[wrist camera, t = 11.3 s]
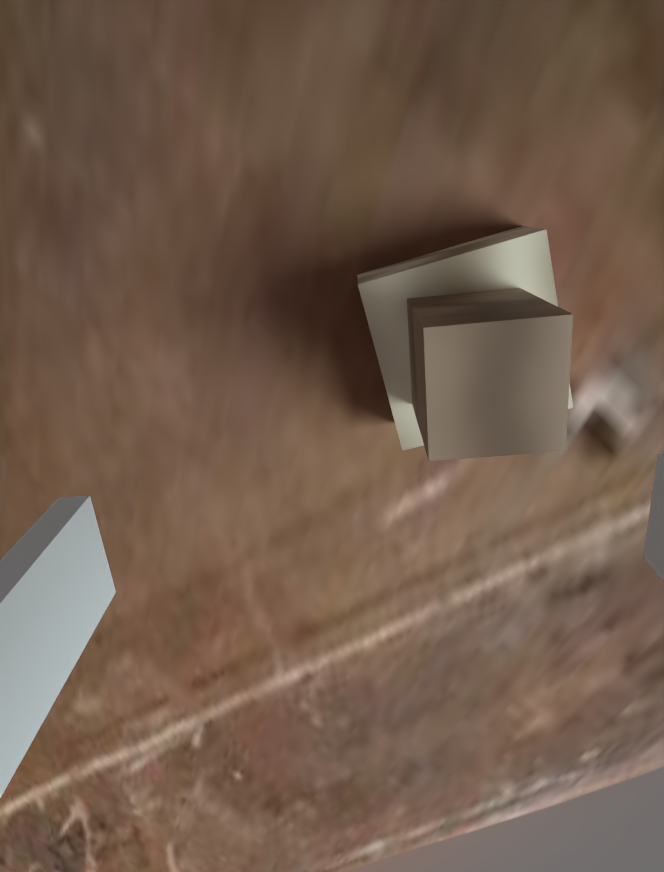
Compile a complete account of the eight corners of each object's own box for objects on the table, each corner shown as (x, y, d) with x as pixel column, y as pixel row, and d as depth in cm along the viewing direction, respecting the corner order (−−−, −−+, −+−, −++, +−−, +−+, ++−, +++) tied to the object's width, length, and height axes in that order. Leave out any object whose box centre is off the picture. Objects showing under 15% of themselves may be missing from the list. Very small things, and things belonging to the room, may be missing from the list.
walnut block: (411, 404, 34) (428, 461, 26) (406, 298, 31) (423, 327, 24) (518, 395, 33) (565, 450, 26) (520, 287, 31) (572, 314, 24)
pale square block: (396, 421, 39) (402, 450, 35) (357, 274, 36) (357, 284, 31) (546, 382, 38) (573, 407, 33) (520, 225, 35) (546, 229, 30)
